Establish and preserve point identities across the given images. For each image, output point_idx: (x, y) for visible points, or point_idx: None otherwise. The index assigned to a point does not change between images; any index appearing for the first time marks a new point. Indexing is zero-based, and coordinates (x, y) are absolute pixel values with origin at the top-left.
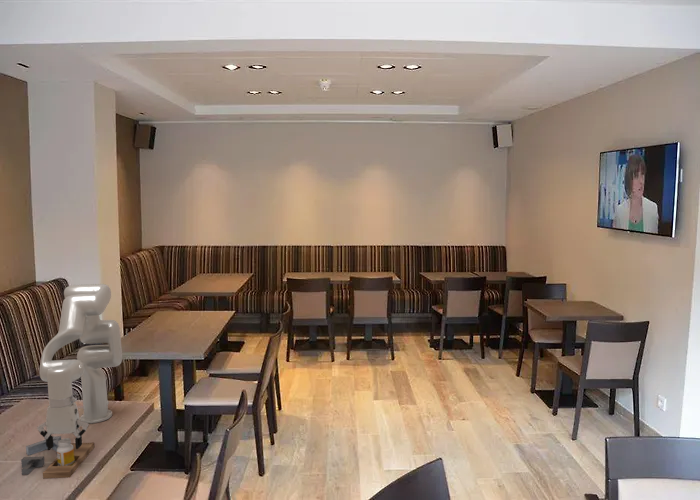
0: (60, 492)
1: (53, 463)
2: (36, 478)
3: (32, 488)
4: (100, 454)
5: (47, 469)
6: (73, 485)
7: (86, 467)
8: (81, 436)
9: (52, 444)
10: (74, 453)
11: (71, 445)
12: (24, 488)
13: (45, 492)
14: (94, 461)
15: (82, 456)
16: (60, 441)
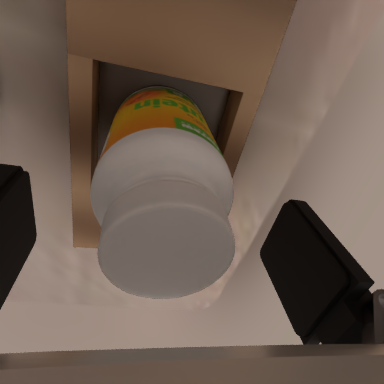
0: (185, 303)
1: (85, 160)
2: (43, 219)
3: (72, 279)
4: (359, 11)
5: (82, 221)
6: (220, 278)
7: (264, 168)
8: (367, 297)
9: (16, 204)
10: (197, 31)
11: (224, 207)
12: (37, 277)
13: (135, 300)
14: (307, 112)
15: (258, 105)
16: (126, 270)
